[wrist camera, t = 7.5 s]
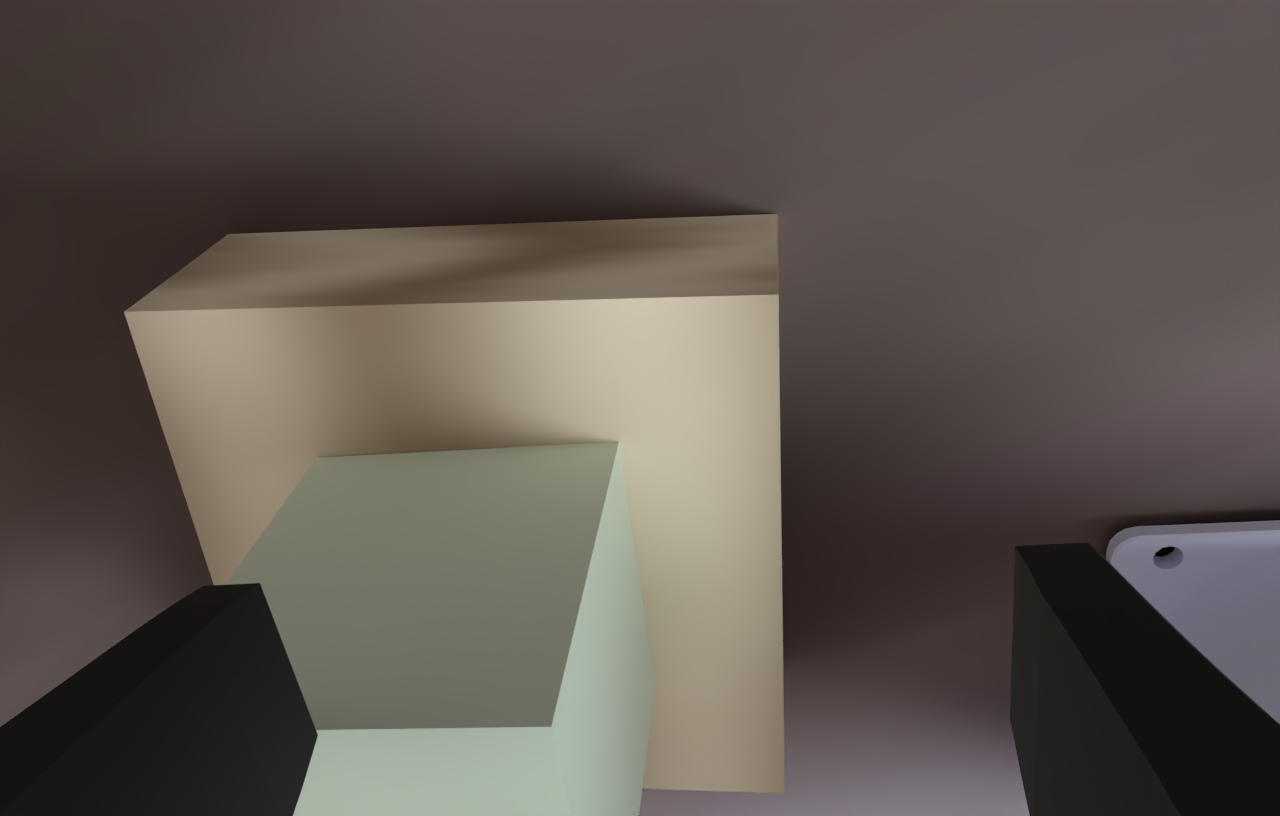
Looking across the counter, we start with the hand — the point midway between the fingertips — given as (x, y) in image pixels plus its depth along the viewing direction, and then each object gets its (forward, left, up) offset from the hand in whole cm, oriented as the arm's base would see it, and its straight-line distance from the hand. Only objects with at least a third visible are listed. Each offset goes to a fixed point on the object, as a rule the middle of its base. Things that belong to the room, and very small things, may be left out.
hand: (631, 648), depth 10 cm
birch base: (+4, +4, -10) cm, 12 cm away
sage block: (+4, +4, -6) cm, 8 cm away
